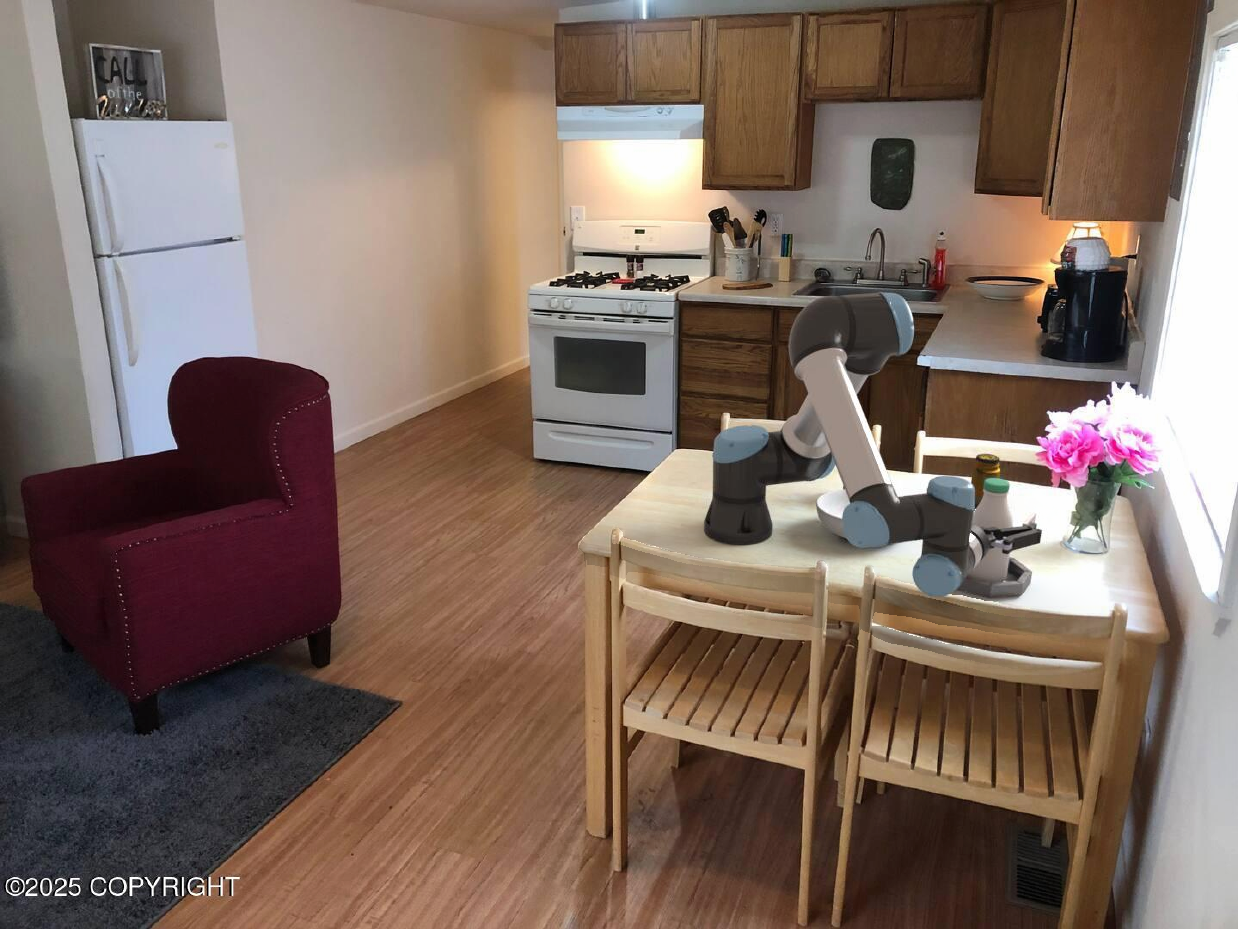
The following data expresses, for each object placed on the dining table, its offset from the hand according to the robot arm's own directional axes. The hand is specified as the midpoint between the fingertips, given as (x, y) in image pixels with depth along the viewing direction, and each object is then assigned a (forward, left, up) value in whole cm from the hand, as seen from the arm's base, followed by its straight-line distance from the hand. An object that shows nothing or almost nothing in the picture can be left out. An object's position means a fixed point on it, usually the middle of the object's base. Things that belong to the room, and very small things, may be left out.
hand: (996, 512), depth 186 cm
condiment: (-13, +38, -14) cm, 43 cm away
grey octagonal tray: (0, -2, -14) cm, 14 cm away
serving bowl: (-29, +6, -14) cm, 33 cm away
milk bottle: (0, -2, -13) cm, 13 cm away
